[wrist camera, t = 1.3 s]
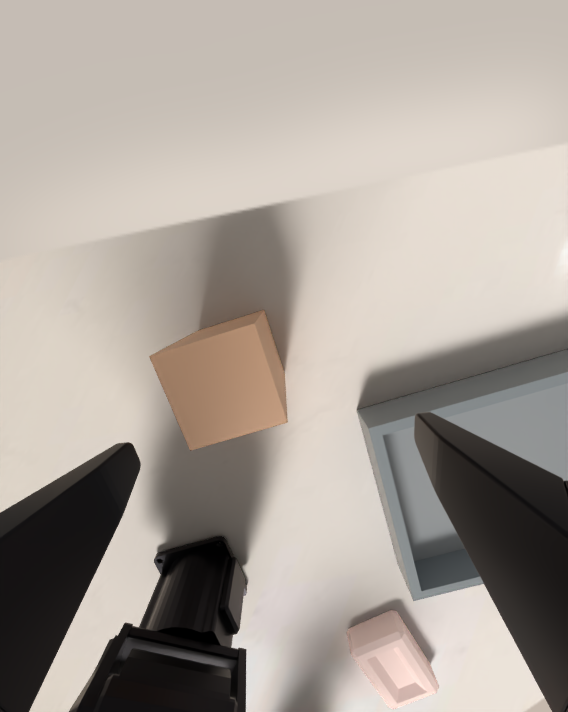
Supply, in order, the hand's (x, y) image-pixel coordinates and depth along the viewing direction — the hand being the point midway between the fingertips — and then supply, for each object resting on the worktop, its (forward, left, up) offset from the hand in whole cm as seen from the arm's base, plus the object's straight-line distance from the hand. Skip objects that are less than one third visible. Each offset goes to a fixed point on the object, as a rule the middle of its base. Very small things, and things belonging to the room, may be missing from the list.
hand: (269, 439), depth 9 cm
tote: (+14, -14, -12) cm, 23 cm away
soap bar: (+2, -32, -13) cm, 35 cm away
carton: (-2, +1, -12) cm, 13 cm away
